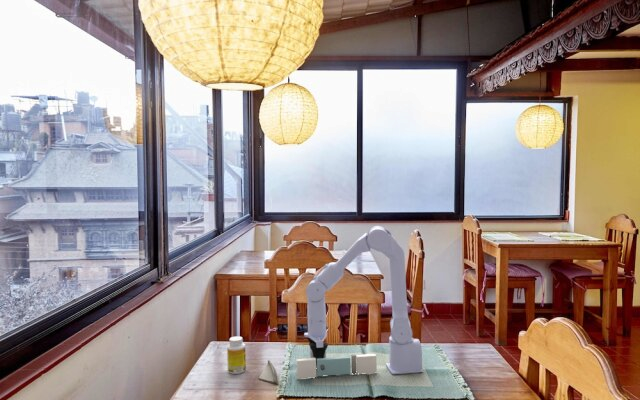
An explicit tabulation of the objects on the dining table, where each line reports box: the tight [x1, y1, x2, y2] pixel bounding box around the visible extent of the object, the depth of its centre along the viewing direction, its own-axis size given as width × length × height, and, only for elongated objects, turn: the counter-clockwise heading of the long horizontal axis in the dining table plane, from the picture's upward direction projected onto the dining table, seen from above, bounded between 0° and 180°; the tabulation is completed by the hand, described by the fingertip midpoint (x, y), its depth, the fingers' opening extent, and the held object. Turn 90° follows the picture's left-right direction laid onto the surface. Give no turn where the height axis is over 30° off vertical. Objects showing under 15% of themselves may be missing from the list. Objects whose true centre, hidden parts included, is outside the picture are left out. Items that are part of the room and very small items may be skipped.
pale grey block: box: [309, 347, 327, 368], centre depth 146 cm, size 4×4×6 cm
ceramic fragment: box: [258, 359, 280, 386], centre depth 140 cm, size 14×5×4 cm, turn 15°
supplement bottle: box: [226, 335, 247, 375], centre depth 144 cm, size 6×6×10 cm
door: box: [316, 355, 352, 377], centre depth 139 cm, size 10×2×5 cm, turn 97°
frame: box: [296, 353, 378, 380], centre depth 139 cm, size 24×2×6 cm, turn 97°
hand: (317, 362), depth 146 cm, fingers closed on pale grey block, 4 cm apart
